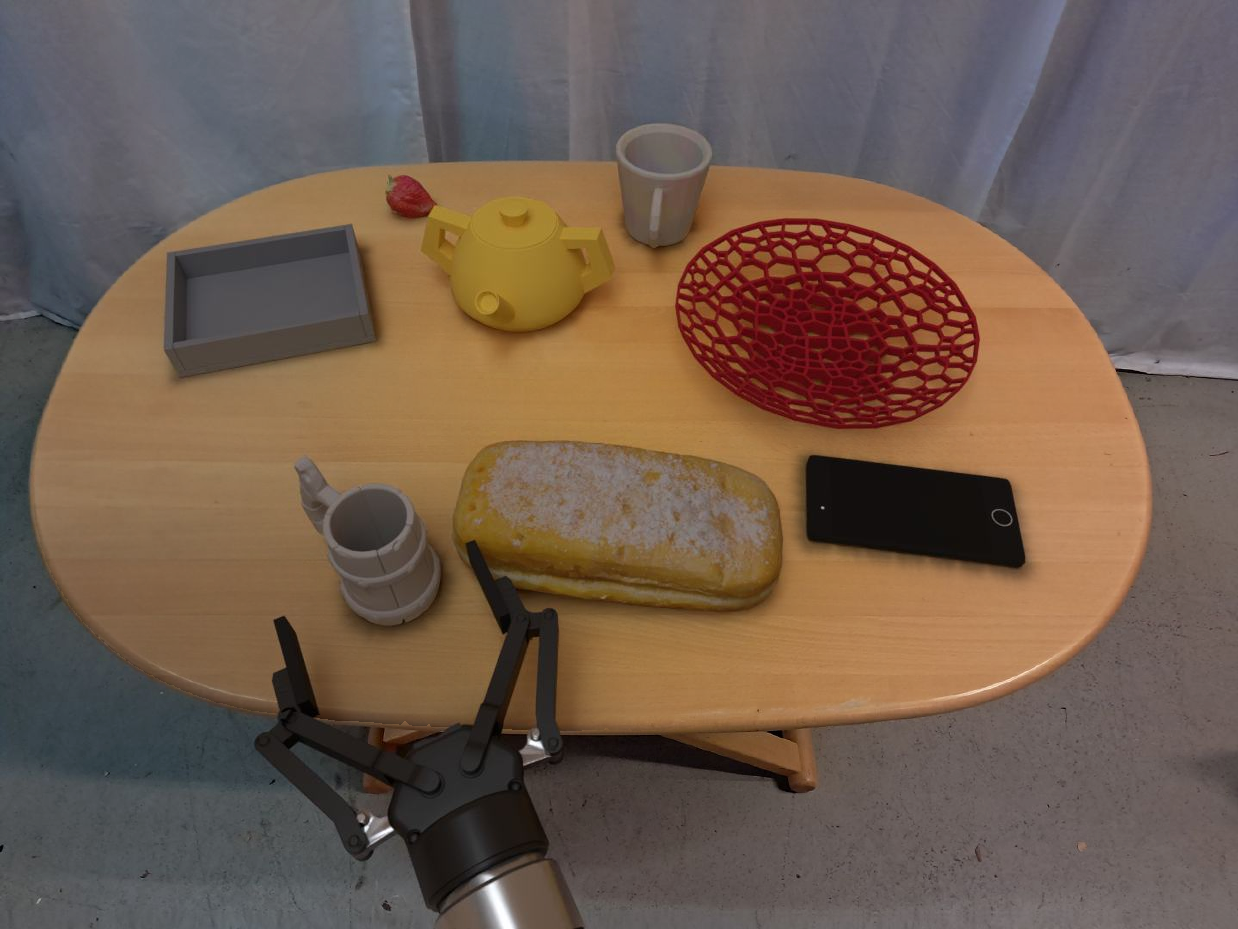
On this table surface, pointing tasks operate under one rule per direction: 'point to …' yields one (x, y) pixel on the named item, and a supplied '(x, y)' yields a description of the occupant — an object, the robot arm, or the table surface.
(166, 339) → the tray
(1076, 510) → the table surface
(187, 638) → the table surface
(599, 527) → the bread
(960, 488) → the cell phone
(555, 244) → the teapot
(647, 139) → the mug
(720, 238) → the bowl
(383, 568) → the mug
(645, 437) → the table surface
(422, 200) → the fruit
